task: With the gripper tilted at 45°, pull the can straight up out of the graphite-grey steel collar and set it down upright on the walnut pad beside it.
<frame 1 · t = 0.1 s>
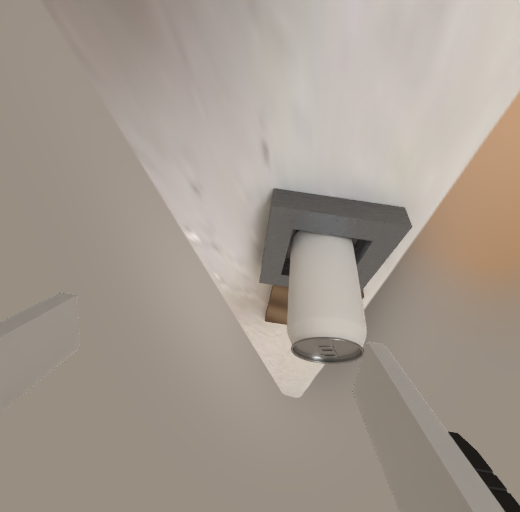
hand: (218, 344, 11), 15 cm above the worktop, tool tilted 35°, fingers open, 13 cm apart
walnut pad: (308, 304, 38), on the worktop
can: (320, 240, 27), resting in steel collar
steel collar: (320, 242, 27), on the worktop
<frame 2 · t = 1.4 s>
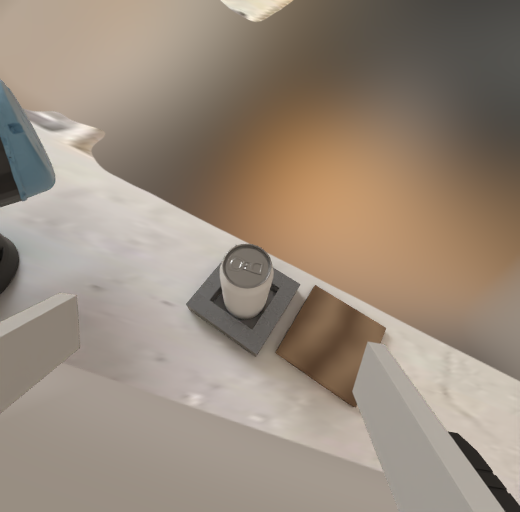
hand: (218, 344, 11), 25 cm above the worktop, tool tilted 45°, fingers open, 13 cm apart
walnut pad: (331, 340, 36), on the worktop
can: (244, 299, 38), resting in steel collar
steel collar: (245, 299, 38), on the worktop
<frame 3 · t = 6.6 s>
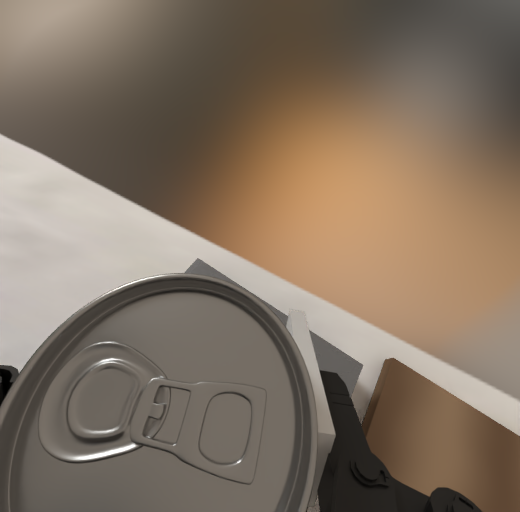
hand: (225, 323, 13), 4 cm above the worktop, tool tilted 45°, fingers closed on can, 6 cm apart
can: (217, 400, 15), resting in steel collar, touching gripper
steel collar: (216, 400, 15), on the worktop
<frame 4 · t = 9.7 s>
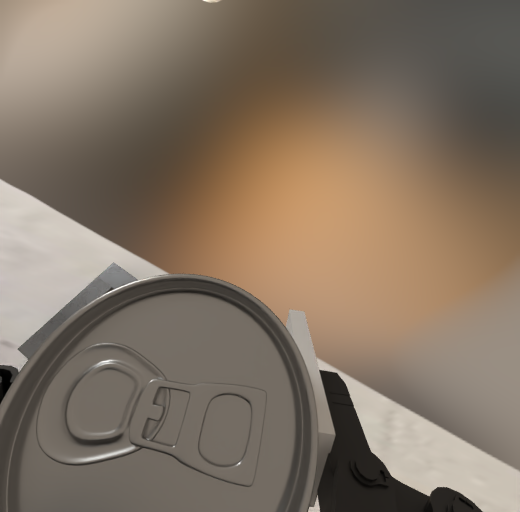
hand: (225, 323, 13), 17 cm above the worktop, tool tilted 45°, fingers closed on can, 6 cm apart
can: (216, 400, 15), point 13 cm above the worktop, touching gripper
steel collar: (118, 337, 28), on the worktop
when the fingers open (7 cm above the worktop, at t = 12.8 s): can drops 1 cm, resting on walnut pad.
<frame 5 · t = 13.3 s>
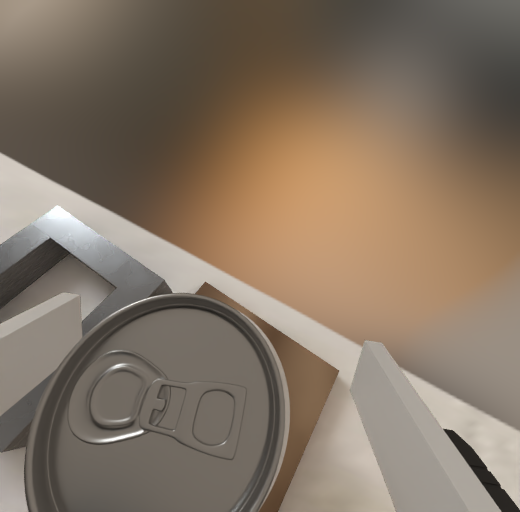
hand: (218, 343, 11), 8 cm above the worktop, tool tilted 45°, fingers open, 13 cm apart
walnut pad: (220, 399, 17), on the worktop
can: (213, 399, 16), point 1 cm above the worktop, touching walnut pad
steel collar: (59, 310, 19), on the worktop
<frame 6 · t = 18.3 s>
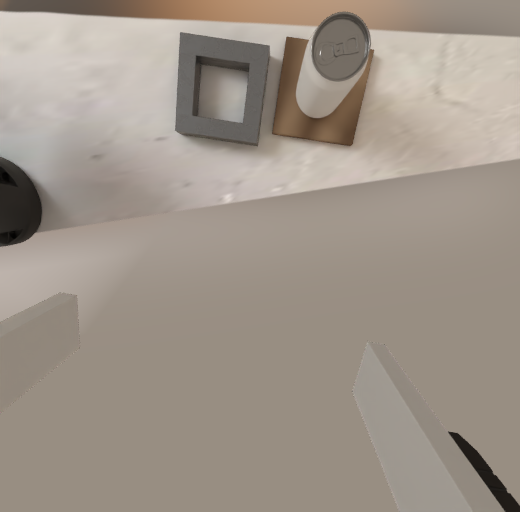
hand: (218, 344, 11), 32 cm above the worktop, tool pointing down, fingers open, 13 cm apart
walnut pad: (319, 95, 36), on the worktop
can: (318, 94, 35), point 1 cm above the worktop, touching walnut pad
steel collar: (223, 96, 37), on the worktop
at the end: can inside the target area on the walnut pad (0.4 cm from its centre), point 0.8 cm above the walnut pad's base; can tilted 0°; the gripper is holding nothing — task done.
